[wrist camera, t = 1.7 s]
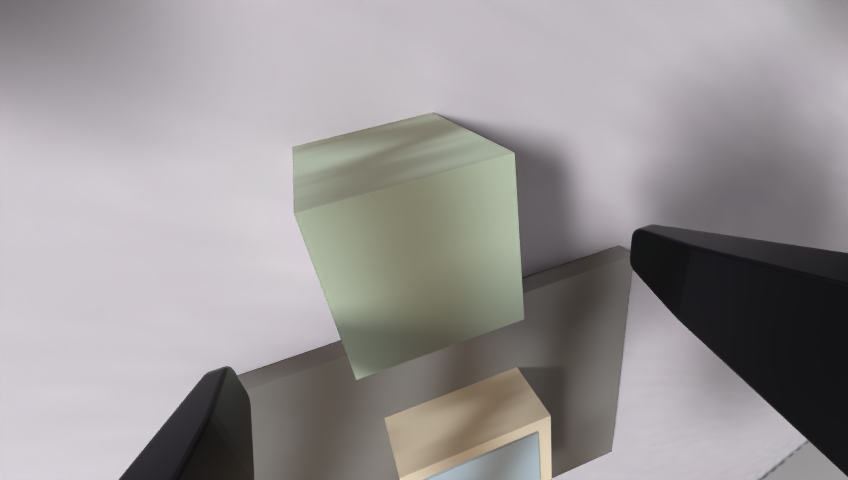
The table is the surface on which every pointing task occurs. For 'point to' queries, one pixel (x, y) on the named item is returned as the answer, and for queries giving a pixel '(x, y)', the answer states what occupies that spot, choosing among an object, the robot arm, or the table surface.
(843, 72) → the table surface
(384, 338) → the sage block
